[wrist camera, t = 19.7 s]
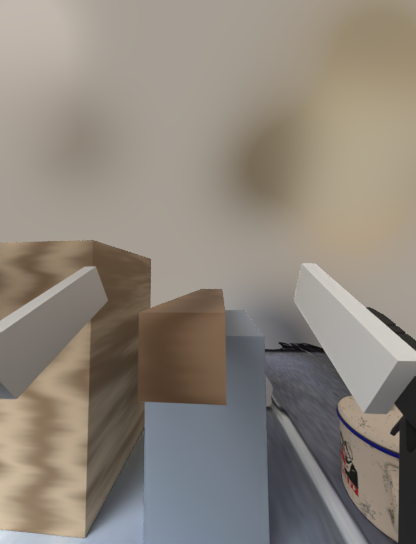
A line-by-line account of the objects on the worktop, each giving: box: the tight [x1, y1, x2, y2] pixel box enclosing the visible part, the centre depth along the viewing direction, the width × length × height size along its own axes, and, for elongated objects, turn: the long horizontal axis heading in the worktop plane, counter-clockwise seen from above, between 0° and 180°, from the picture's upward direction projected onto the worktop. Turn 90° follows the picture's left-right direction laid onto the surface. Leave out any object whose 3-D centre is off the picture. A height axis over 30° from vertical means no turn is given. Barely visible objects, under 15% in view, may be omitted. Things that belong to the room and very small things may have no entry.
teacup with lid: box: [337, 396, 403, 542], centre depth 20 cm, size 12×9×12 cm
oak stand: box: [0, 240, 151, 538], centre depth 27 cm, size 12×16×30 cm
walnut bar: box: [138, 289, 226, 405], centre depth 21 cm, size 4×26×4 cm, turn 176°
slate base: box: [143, 310, 269, 544], centre depth 25 cm, size 12×16×20 cm
